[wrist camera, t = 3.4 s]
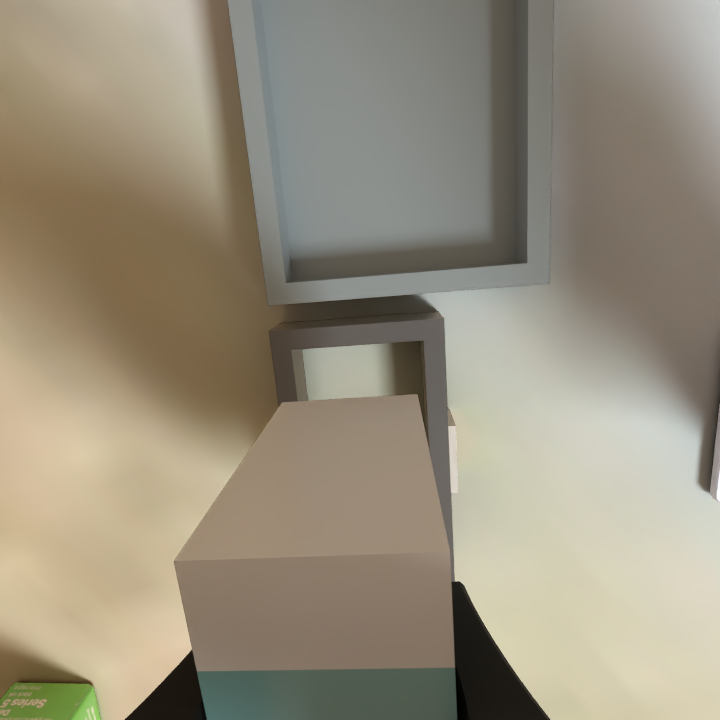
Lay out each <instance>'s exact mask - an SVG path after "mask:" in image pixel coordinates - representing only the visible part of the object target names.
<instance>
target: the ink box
mask: <svg viewBox="0 0 720 720" xmlns="http://www.w3.org/2000/svg"><path fill="white" fill-rule="evenodd" d="M0 720H101V719H100V714H99V709H98V705H97V700H96V695H95V692H94V687H93V686H91V685H90V684H73V683H14V684H13V685H12V686H11V687H10V688H9V690H8V691H7V692H6V693H5V695H4V696H3V697H2V698H1V699H0Z"/></svg>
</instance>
